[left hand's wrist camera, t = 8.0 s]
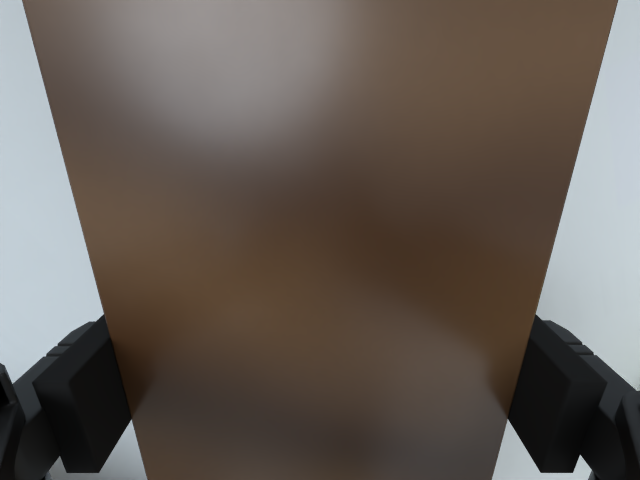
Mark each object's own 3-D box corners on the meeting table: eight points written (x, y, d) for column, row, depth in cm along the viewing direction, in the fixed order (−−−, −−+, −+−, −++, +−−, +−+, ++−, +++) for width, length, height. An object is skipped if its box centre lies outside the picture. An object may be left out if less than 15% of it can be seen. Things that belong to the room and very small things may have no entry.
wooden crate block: (166, -176, 11) (-217, -897, 3) (473, -175, 12) (857, -894, 3) (224, 319, 18) (147, 486, 10) (414, 319, 18) (490, 486, 10)
